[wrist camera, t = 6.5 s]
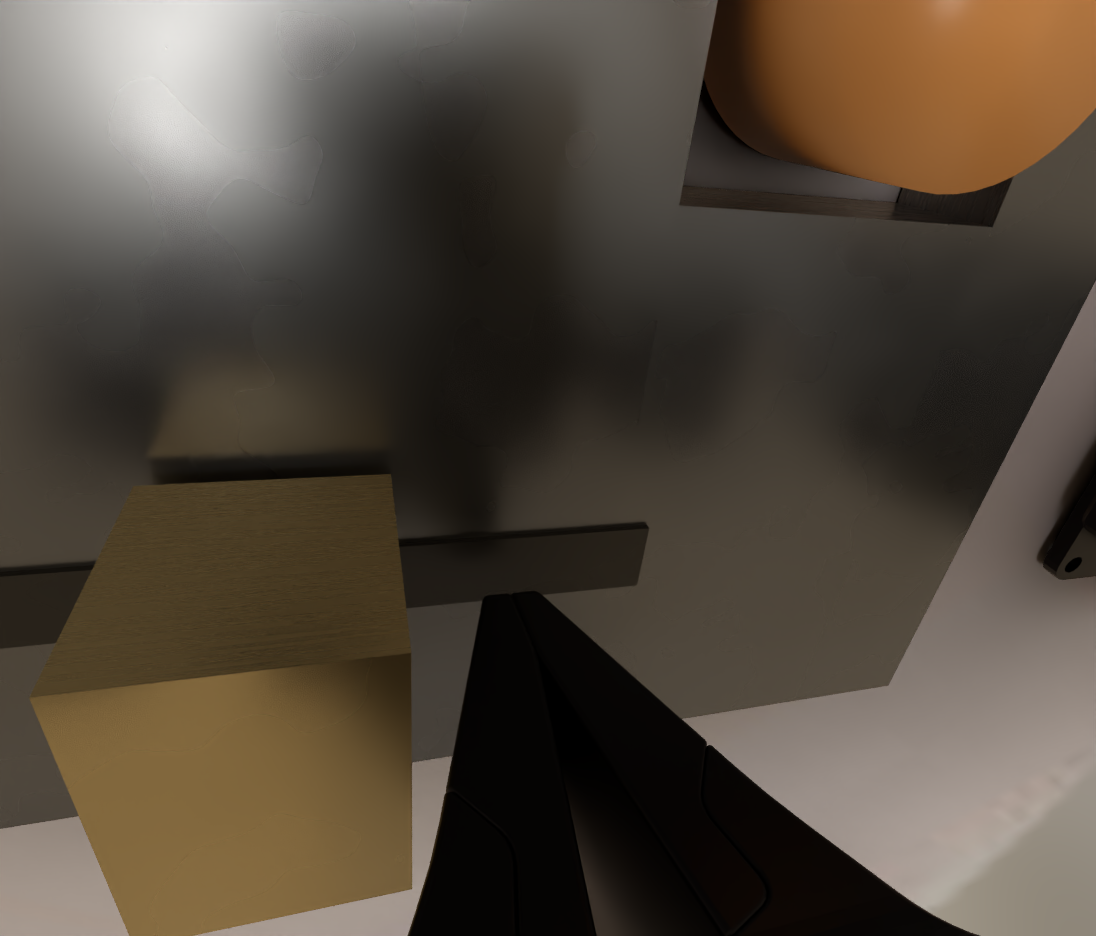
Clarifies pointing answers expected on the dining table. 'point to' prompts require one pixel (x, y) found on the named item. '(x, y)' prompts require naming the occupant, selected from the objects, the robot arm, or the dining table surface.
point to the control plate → (498, 335)
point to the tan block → (240, 702)
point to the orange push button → (905, 84)
